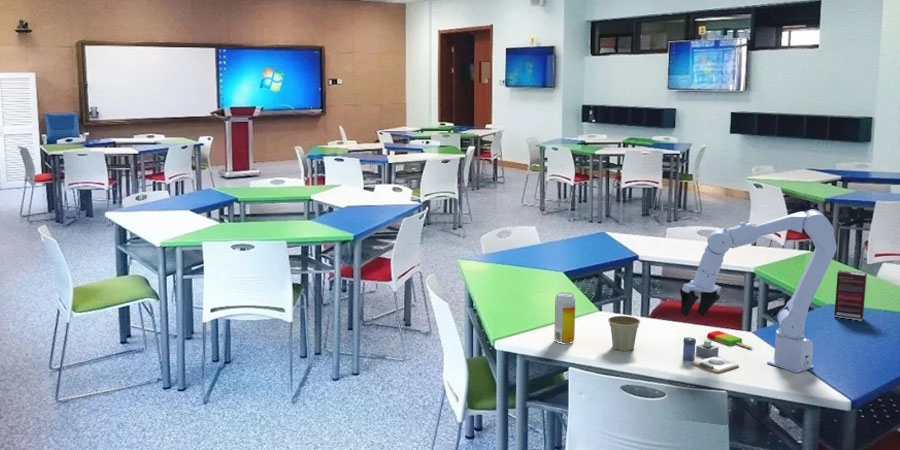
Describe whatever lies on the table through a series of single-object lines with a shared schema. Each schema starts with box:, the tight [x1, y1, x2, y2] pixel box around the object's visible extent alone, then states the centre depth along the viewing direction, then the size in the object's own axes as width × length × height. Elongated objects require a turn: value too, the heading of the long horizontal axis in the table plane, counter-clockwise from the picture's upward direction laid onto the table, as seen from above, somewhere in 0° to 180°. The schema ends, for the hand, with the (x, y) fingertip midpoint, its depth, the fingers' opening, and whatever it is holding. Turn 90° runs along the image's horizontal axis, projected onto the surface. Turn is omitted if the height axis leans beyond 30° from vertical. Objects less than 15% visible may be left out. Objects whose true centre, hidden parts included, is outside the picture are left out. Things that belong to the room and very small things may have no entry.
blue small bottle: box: [682, 336, 697, 362], centre depth 221 cm, size 3×3×6 cm
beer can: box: [553, 291, 576, 343], centre depth 236 cm, size 6×6×15 cm
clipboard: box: [691, 356, 740, 374], centre depth 216 cm, size 9×9×1 cm
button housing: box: [695, 343, 720, 358], centre depth 225 cm, size 4×4×2 cm
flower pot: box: [607, 315, 641, 352], centre depth 231 cm, size 9×9×9 cm
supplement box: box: [833, 269, 868, 322], centre depth 258 cm, size 9×5×16 cm, turn 58°
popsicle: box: [706, 330, 753, 350], centre depth 236 cm, size 6×15×2 cm, turn 31°
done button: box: [703, 339, 712, 349], centre depth 225 cm, size 2×2×2 cm
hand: (692, 314), depth 222 cm, fingers open, 7 cm apart
